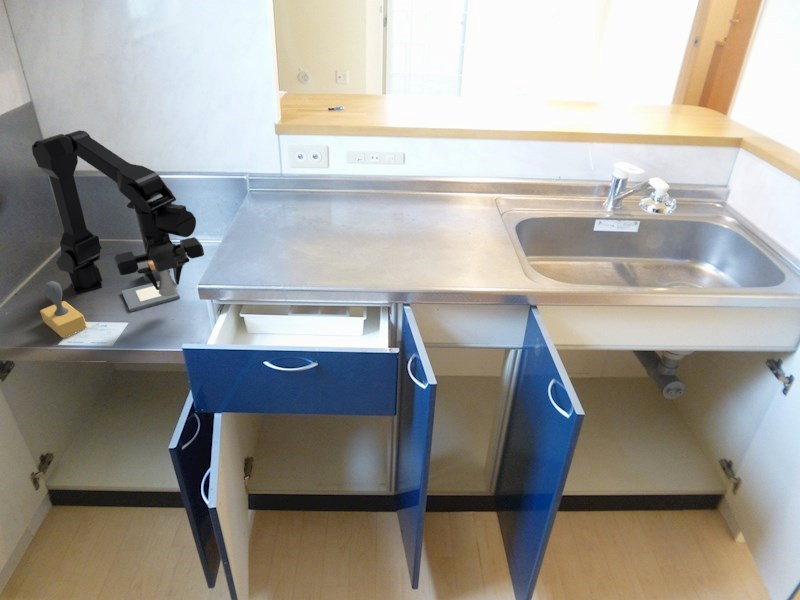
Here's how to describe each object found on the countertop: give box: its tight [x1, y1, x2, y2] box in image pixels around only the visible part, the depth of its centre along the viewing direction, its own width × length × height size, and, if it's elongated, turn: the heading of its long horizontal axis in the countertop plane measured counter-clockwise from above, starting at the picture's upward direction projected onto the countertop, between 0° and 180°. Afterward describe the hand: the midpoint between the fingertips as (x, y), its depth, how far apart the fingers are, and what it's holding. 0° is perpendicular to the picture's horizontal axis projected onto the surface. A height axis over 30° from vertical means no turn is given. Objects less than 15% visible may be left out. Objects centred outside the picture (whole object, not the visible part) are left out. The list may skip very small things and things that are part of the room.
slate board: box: [121, 281, 181, 313], centre depth 145 cm, size 12×10×1 cm
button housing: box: [142, 271, 160, 285], centre depth 152 cm, size 5×5×3 cm
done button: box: [148, 261, 157, 272], centre depth 151 cm, size 4×4×2 cm
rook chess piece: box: [155, 268, 179, 296], centre depth 134 cm, size 4×4×8 cm
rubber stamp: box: [39, 280, 88, 339], centre depth 130 cm, size 10×6×12 cm, turn 50°
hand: (167, 286), depth 135 cm, fingers closed on rook chess piece, 4 cm apart
